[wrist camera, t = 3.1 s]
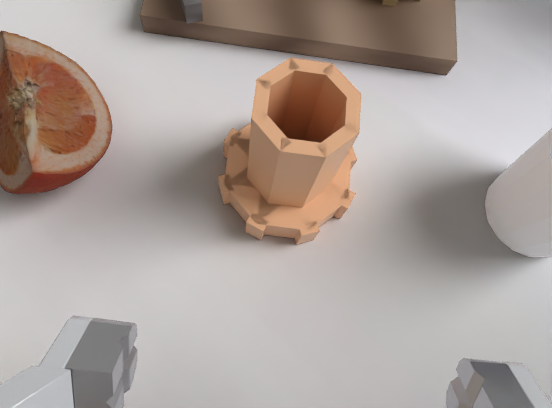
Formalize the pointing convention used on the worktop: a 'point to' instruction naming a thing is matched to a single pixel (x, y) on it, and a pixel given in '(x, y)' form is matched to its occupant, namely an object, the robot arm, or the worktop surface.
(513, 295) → the worktop surface
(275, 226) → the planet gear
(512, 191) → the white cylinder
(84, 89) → the fruit slice
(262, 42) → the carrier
